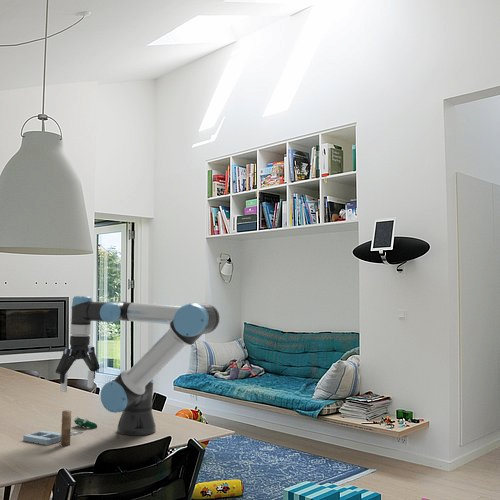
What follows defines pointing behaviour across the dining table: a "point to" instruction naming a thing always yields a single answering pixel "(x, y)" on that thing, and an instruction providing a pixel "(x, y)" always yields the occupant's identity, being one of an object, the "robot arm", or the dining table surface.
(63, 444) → the peg
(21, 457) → the dining table surface
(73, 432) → the card
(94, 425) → the gaming controller
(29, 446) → the dining table surface
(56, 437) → the socket board
